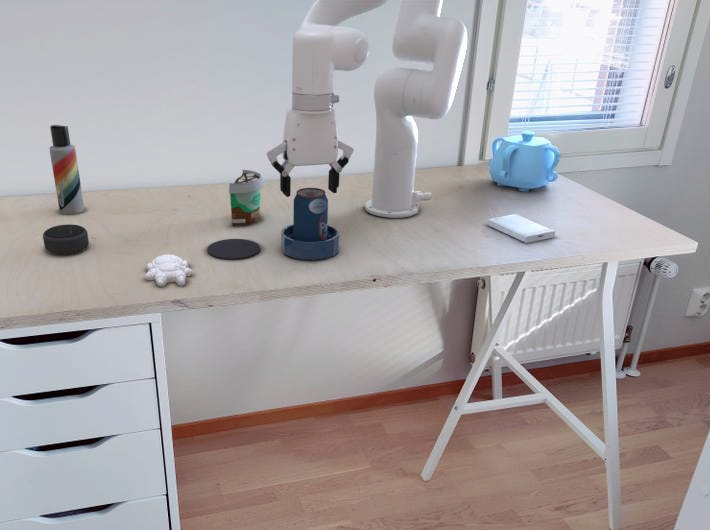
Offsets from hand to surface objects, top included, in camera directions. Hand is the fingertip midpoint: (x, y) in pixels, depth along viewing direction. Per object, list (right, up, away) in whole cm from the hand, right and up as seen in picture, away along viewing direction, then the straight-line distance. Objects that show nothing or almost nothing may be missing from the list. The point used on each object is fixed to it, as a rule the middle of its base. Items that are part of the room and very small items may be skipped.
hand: (309, 193), depth 141 cm
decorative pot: (+57, +13, +47) cm, 75 cm away
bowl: (0, -10, +6) cm, 12 cm away
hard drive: (+47, -5, +16) cm, 50 cm away
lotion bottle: (-56, +2, +29) cm, 63 cm away
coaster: (-15, -10, +7) cm, 20 cm away
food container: (-13, -1, +23) cm, 26 cm away
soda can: (0, -10, +6) cm, 12 cm away
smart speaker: (-50, -10, +8) cm, 52 cm away
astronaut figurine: (-27, -17, -4) cm, 32 cm away
